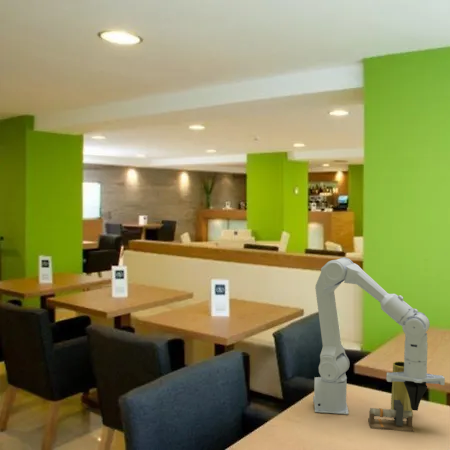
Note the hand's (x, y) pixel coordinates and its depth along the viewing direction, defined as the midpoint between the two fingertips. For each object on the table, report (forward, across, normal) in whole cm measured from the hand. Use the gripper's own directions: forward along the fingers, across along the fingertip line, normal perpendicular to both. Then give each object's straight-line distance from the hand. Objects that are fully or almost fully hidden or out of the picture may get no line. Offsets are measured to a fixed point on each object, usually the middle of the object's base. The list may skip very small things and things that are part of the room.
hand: (414, 408), depth 133 cm
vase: (+5, -2, +9) cm, 11 cm away
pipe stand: (+5, -6, 0) cm, 8 cm away
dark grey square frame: (+4, -4, 0) cm, 6 cm away
